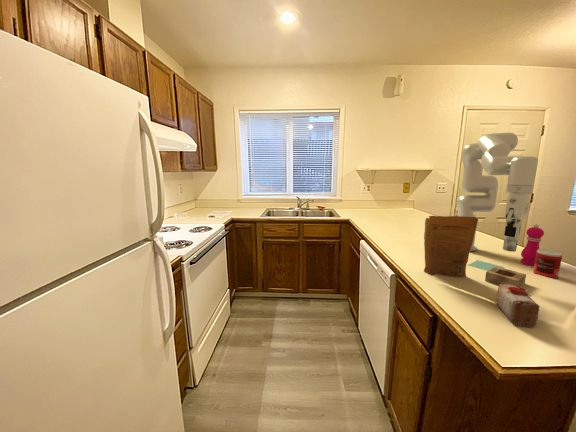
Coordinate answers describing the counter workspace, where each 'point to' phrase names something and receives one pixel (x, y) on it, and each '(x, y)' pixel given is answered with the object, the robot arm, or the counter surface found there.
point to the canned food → (547, 263)
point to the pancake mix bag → (448, 244)
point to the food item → (517, 305)
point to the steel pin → (512, 240)
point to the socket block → (505, 277)
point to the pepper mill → (532, 245)
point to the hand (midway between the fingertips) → (511, 234)
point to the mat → (483, 265)
